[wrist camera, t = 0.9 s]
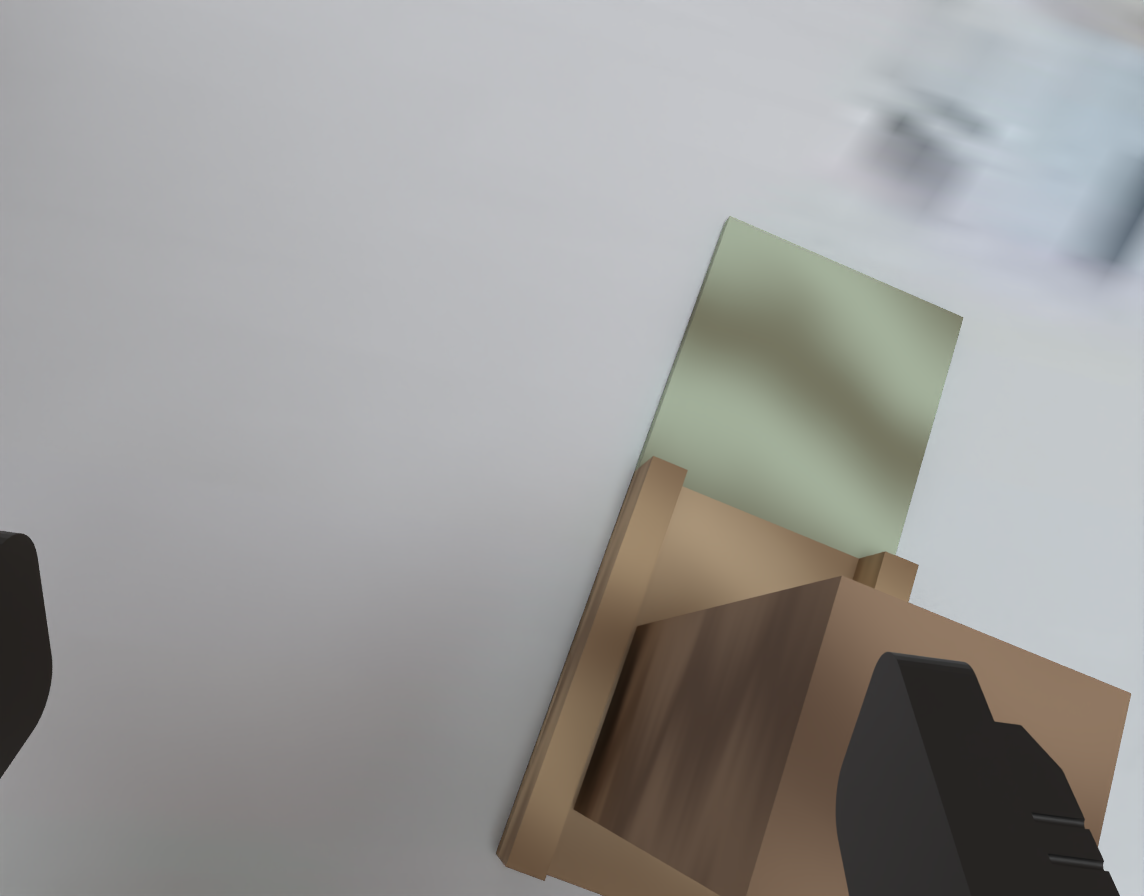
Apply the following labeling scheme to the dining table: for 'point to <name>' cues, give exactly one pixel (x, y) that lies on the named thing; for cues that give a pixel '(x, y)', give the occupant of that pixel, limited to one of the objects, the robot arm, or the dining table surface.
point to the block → (801, 729)
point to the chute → (741, 502)
